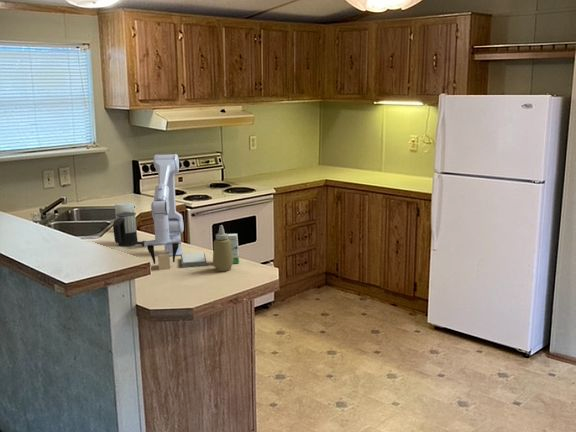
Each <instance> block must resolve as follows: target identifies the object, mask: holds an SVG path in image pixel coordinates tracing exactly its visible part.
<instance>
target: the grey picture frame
mask: <svg viewBox="0 0 576 432" xmlns="http://www.w3.org/2000/svg"><path fill="white" fill-rule="evenodd" d="M180 261H181V267H182V269H183V268H194V267H206V266H208V261H207V257H206V253H204V252H197V253H185V254H184V253H183V255H180Z"/></svg>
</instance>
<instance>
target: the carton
mask: <svg viewBox="0 0 576 432" xmlns="http://www.w3.org/2000/svg"><path fill="white" fill-rule="evenodd" d="M170 259H171V258H170V256H169V251H164V250H161V251H157V262H158V271H163V270H170V269H171V262H170V261H171V260H170Z"/></svg>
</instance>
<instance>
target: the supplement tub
mask: <svg viewBox="0 0 576 432" xmlns="http://www.w3.org/2000/svg"><path fill="white" fill-rule="evenodd" d="M114 210H115V211H114V212H115V213H114V214H115V220H116V219H117V215H116V214H118V213H124V212H134V213H135V204H134V202H131V201H121V202H117V203H115V205H114Z"/></svg>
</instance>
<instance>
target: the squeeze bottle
mask: <svg viewBox="0 0 576 432" xmlns="http://www.w3.org/2000/svg"><path fill="white" fill-rule="evenodd" d="M228 234H229V233H227V232H226V233H225V229H224V226H223V224H221V225H220V224H219V228H218V233H216V234H215V239H214V240H213V251H212V253H213V254H212V262H213V265H214V268H215V270H216V271H218V272H227V271H231V270H232V267H233V264H232V263H233V255H232V249H231V242H230V240H229V239H227V238H228Z"/></svg>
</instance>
